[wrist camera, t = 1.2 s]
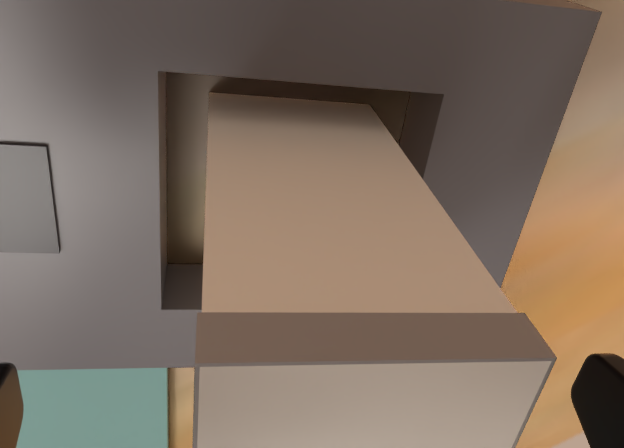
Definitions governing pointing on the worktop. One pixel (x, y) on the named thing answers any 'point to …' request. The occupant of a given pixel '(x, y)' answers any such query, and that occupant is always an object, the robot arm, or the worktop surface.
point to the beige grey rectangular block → (345, 295)
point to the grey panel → (254, 65)
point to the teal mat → (94, 408)
